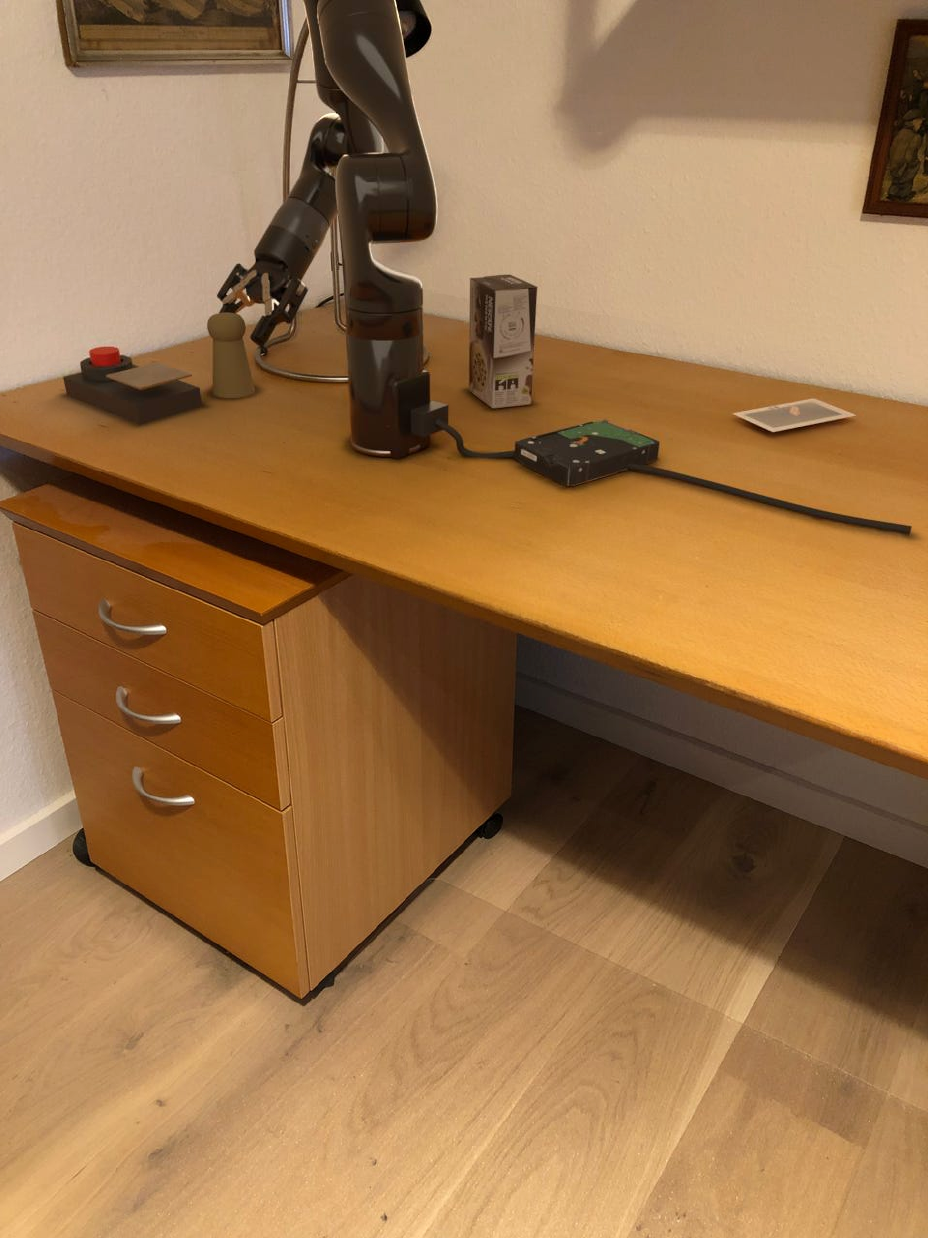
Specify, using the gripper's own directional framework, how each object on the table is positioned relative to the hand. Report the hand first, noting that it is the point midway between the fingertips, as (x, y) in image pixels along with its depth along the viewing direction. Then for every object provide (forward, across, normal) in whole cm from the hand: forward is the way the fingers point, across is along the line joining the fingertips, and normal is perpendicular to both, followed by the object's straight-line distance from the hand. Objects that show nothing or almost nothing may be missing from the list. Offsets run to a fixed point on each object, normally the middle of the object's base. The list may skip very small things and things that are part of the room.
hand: (236, 337), depth 133 cm
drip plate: (+12, -2, -8) cm, 14 cm away
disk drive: (-2, +53, +13) cm, 55 cm away
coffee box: (-10, +30, +21) cm, 38 cm away
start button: (+12, -12, -7) cm, 19 cm away
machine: (+15, -7, -4) cm, 17 cm away
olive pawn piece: (+7, 0, +4) cm, 8 cm away
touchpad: (-24, +66, +35) cm, 78 cm away
